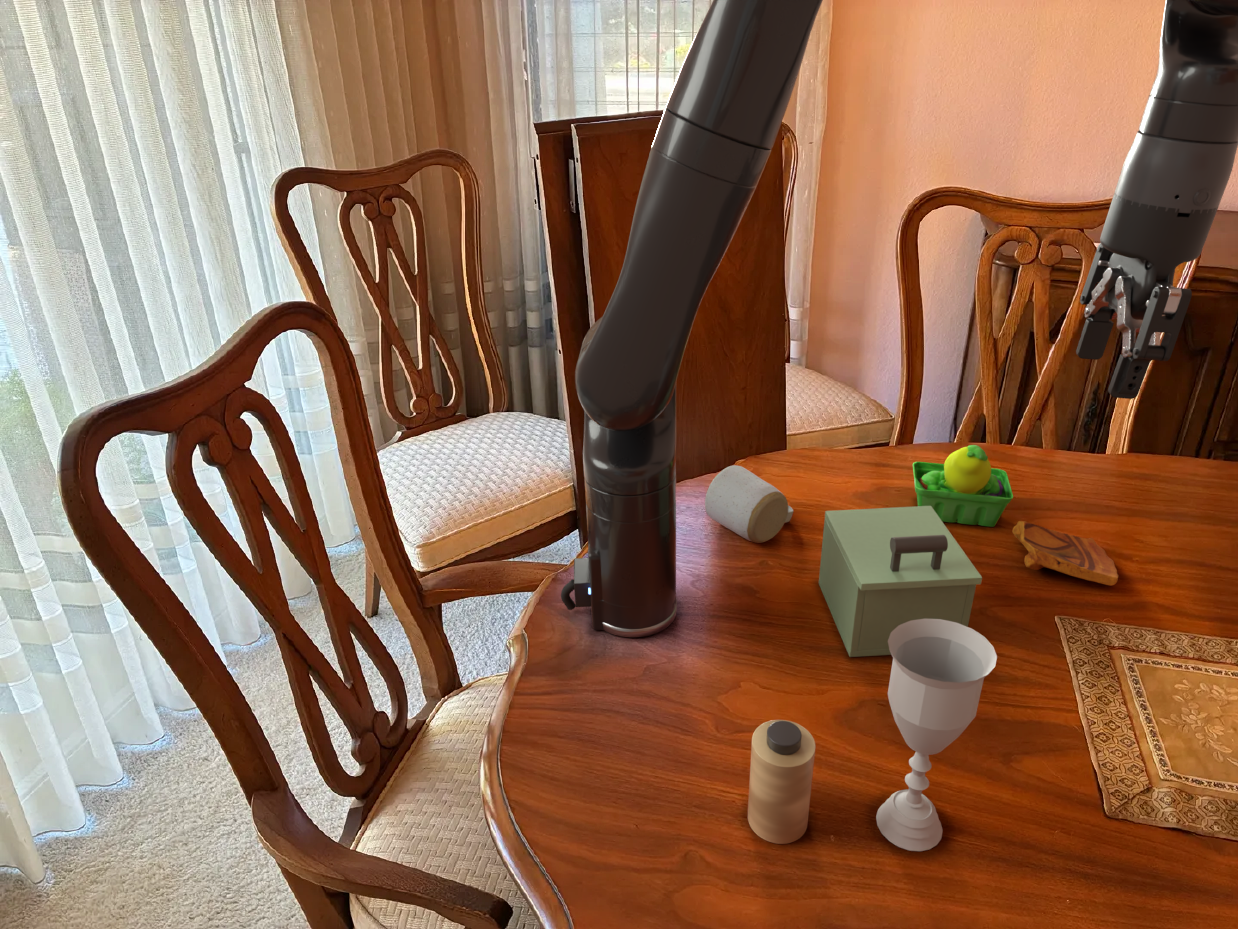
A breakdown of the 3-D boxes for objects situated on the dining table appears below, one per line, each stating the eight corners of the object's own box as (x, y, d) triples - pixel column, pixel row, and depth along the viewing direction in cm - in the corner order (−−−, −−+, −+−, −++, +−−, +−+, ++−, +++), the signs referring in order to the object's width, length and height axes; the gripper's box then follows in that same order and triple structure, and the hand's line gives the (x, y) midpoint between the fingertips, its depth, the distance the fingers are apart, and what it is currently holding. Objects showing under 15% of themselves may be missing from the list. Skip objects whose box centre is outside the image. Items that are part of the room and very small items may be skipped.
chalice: (939, 787, 72) (974, 616, 63) (971, 859, 66) (1014, 680, 57) (852, 792, 72) (875, 620, 63) (876, 863, 66) (905, 685, 57)
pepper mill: (753, 846, 67) (758, 759, 63) (742, 796, 72) (747, 711, 67) (813, 842, 67) (823, 755, 63) (799, 793, 72) (808, 708, 67)
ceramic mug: (749, 555, 103) (753, 500, 99) (702, 527, 108) (704, 474, 105) (808, 525, 108) (813, 472, 105) (760, 500, 114) (764, 449, 111)
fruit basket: (998, 502, 112) (1015, 424, 106) (1008, 539, 104) (1026, 457, 99) (907, 494, 114) (918, 417, 109) (910, 529, 107) (922, 448, 101)
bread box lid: (981, 584, 82) (989, 545, 80) (860, 590, 81) (865, 552, 79) (930, 511, 94) (935, 476, 91) (824, 517, 93) (827, 481, 91)
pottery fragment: (1011, 517, 103) (1104, 512, 100) (1011, 549, 105) (1102, 544, 102) (1029, 567, 94) (1131, 562, 91) (1028, 600, 96) (1128, 597, 93)
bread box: (963, 651, 87) (977, 580, 82) (849, 657, 86) (858, 586, 82) (919, 578, 98) (929, 512, 94) (818, 583, 97) (824, 517, 93)
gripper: (1089, 173, 76) (1038, 343, 84) (1154, 212, 64) (1087, 407, 72) (1177, 178, 75) (1117, 349, 84) (1261, 219, 63) (1181, 415, 71)
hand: (1103, 376), depth 78 cm, fingers open, 8 cm apart
